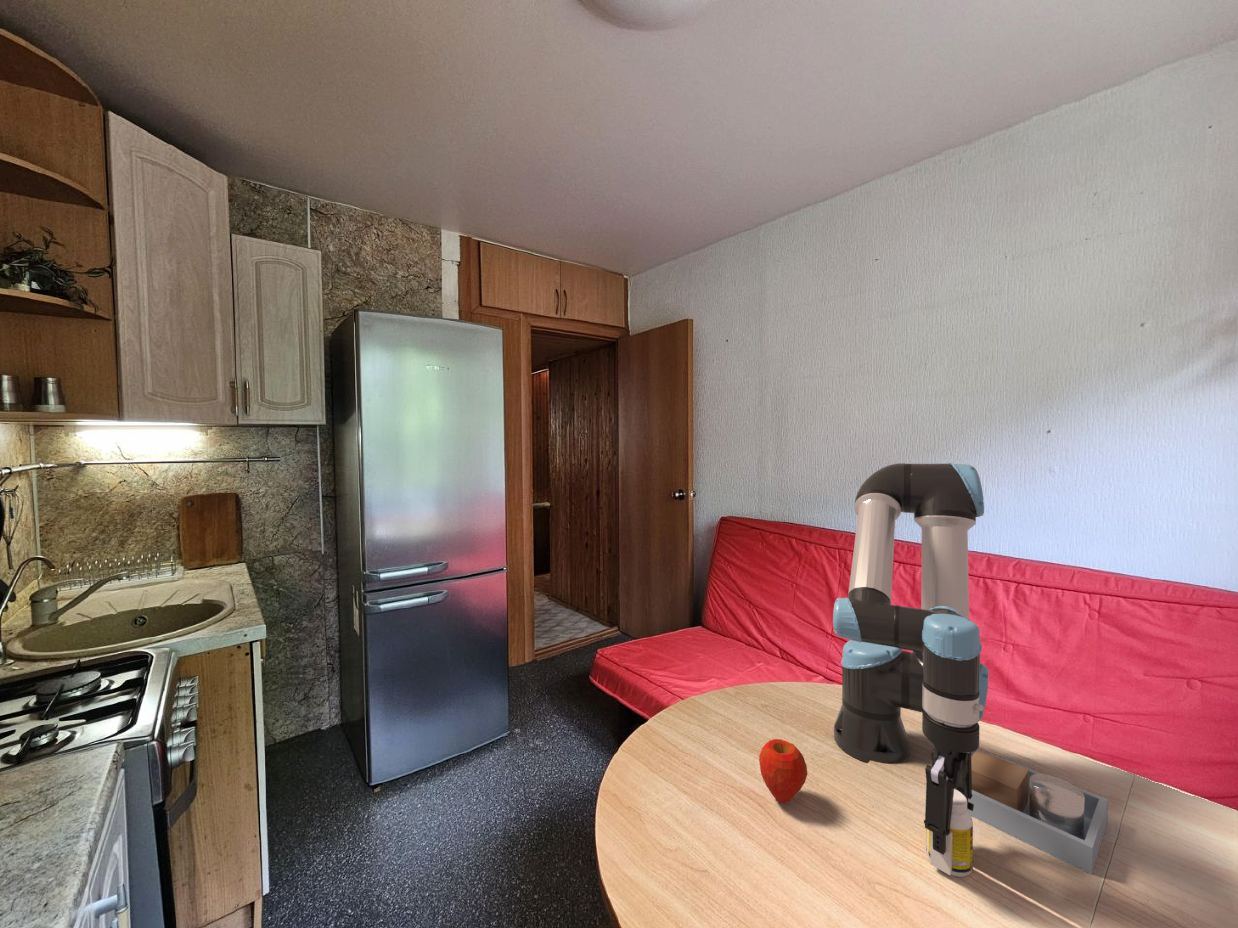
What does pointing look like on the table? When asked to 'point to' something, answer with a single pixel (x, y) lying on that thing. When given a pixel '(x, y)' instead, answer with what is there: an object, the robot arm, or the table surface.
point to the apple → (782, 769)
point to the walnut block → (1000, 780)
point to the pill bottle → (958, 837)
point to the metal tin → (1057, 804)
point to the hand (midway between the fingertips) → (948, 856)
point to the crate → (1047, 826)
